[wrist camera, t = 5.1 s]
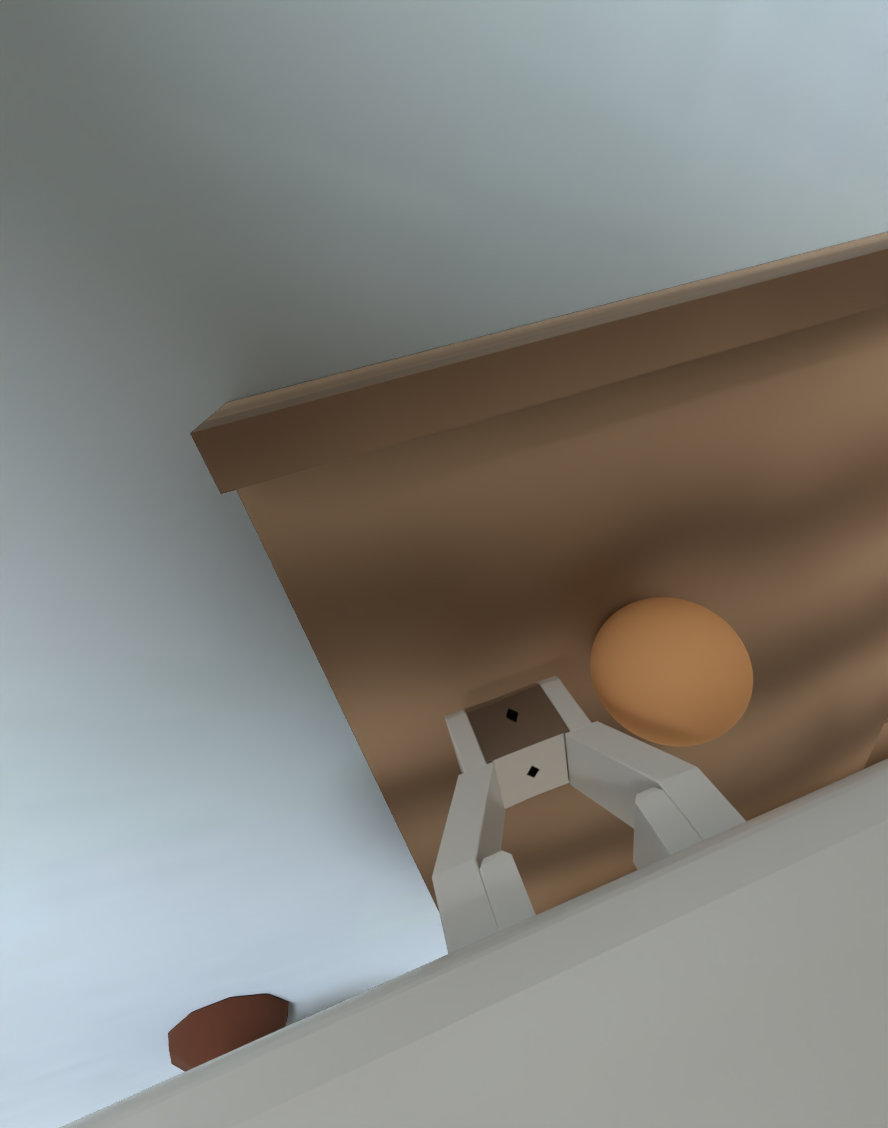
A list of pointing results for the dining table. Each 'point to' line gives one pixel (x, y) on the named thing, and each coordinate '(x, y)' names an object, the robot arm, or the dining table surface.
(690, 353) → the wooden tray
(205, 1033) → the ice cream bowl
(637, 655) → the ball orange
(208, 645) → the dining table surface
